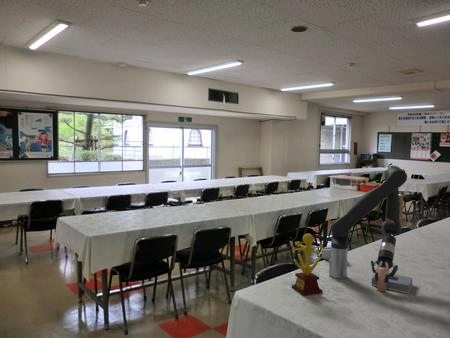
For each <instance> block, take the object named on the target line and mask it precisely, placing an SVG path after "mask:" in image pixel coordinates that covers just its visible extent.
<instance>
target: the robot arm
mask: <svg viewBox="0 0 450 338" xmlns="http://www.w3.org/2000/svg"><path fill="white" fill-rule="evenodd" d="M384 175H385V176H384V177H385V181H383V182H382V184H380V185H379V186H377V187H375V188H373V189H371V190H368V191H367V192H365V193H364V194H363V195H362V196H360V197H359V198H358V200H356V201H355V203H353V205H352V206H351V208H350V209H349V210H348V211H347V212H346V213H345V214H344V215H343V216H342V217H340V218H338V219H335V220H334V221H333V223H332V224H331V227H330V229H331V242H330V247H331V259H330V260H329V268H328V273H329V274H328V275H329V277H331V278H334V279H338V280H339V279H340V280H344V279H347V276H348V262H347V260H348V254H349V253H348V251H349V231H350V230H351V229H352V228H353V227H354V226H355V225H356V224H357V223H359V221H361V220H362V219H363V218H365V217H366V216H368V214H370V213H371V212H372V211H373V210H374V209H375V208H376V207H378V205H380V204H381V203H382V202H383V201H384V200H385V199H386V205H385V218H386V219H388V220H390V221H388V220H384V221H383V222H382V223H381V227H380V229H381V235H382V237H381V242H380V243H381V244H380V247H379V250H378V256H377V259H376V260H375V261H373V260H370V265H371V271H372V273H373V274H374V275H375V280H376V281H378V268H379V267H383V268H386V269H387V270H386V273H387V275H386V278H385V283H387V282H388V281H389V277H390V276H392V277H393V276H394V275H396V273H397V271H398V270H399V266H398V265H396V264H394V257H395V250H396V243H397V238H396V237H395V236H399V235H401V233H402V232H403V231H402V224H401V220H400V213H401V202H400V193H399V188H400V187H401V186H403V185H404V184H405V183H406V182H407V180H408V175H407V173H406V171H405V170H403V169H402V168H400V167H399V166H396V165H392V166H389V167H388V168H387V169H386V171H385V174H384ZM376 265H377V266H376ZM375 266H376V269H375ZM390 269H392V270H391V272H390Z"/></svg>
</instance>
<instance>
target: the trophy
mask: <svg viewBox="0 0 450 338" xmlns="http://www.w3.org/2000/svg"><path fill="white" fill-rule="evenodd" d="M314 239H315V237H314V236H313V235H312V234H311V233H305V234H304V235H303V236H302V242H303V244H304V245H303V244H301V242H300V241H297V243H296V244H297V245H296V246H297V248H296V247H295V246H292V247H291V250H292V253H294V254H295V253H296V251H302V252H303V253H304V255H305V263H304V260H303V258H302V255H301V253H299V254H297V257H298V258H299V261H300V263H298V261H297V259H293V262H294V263H295V264H296V265H297V266H298V268H299V269H300V270H301V271H302V272H297V273H294V274H295V275H294V276H295V277H296V280H295V284H292V285H291V288H292V289H293V290H294V291H295V292H297V293H298V294H300V295H301V296H303V297H307V296H313V295H320V294H323V289H322V288H320V287H319V283H318V280H320V276H318V275H316V274H315V273H314V272H313V270H315V269H316V267H317V265H318V264H319V262H320V260H321V259H322V256H320V251H322V250H323V248H324V244H319V246H311V245H312V244H313V243H314V241H315V240H314ZM311 253H315V256H317V259H316V260H315V262H314V263H313V264H312V265H311V266H310V255H311ZM318 256H319V257H318ZM300 264H301V265H300Z"/></svg>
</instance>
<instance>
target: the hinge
mask: <svg viewBox="0 0 450 338" xmlns="http://www.w3.org/2000/svg"><path fill="white" fill-rule="evenodd" d="M321 259H324V260H328V261H330V259H331V246H327V247H326V246H325V247H323V250H321ZM347 263H348V259H347Z"/></svg>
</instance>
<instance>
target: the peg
mask: <svg viewBox="0 0 450 338" xmlns="http://www.w3.org/2000/svg"><path fill="white" fill-rule="evenodd" d="M386 270H387V269H386V268H383V267H379V268H378V287H377V292H378V293H386V291H387V289H386V283H385V278H386V273H387V272H386Z"/></svg>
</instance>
